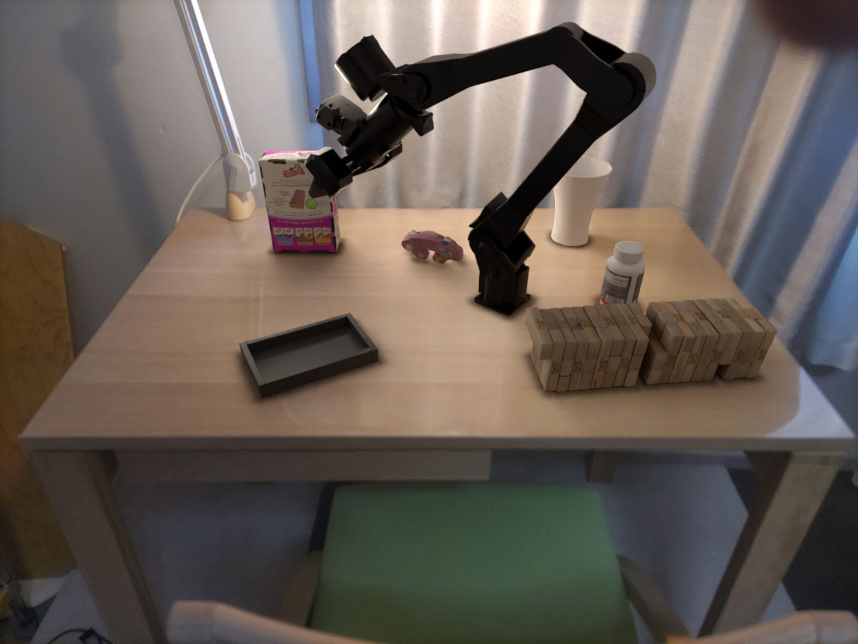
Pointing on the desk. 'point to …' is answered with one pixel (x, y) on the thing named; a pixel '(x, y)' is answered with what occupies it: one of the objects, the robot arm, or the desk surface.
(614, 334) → the block tower
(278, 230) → the candy bar box
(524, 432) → the desk surface
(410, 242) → the video game controller
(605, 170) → the cup
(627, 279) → the pill bottle
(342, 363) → the tray
